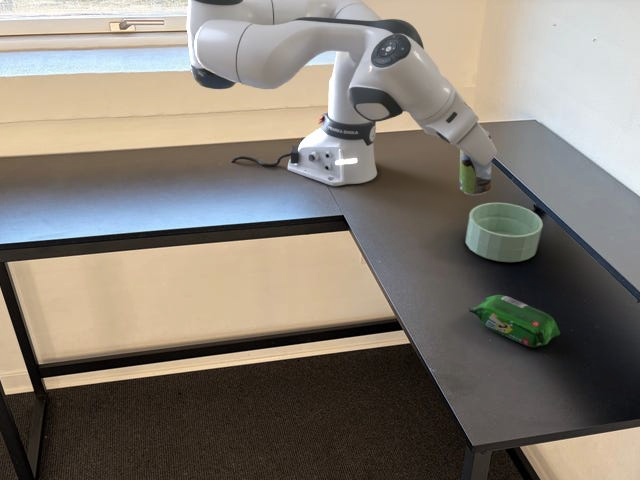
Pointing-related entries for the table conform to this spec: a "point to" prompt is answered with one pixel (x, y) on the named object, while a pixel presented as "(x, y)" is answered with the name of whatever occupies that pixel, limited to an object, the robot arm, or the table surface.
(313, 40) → the robot arm
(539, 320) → the snack package
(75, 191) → the table surface
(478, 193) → the beverage can
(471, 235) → the bowl
